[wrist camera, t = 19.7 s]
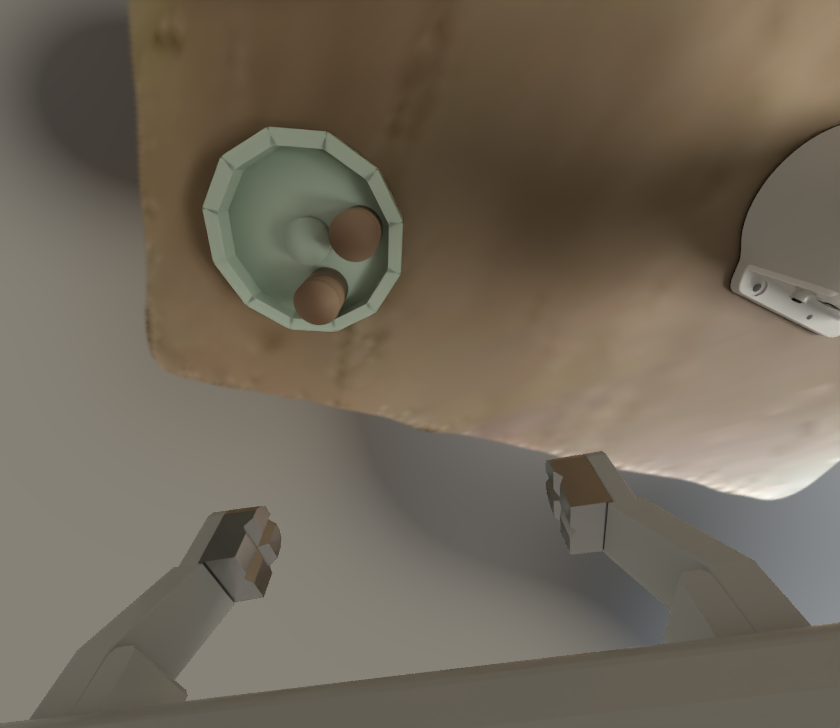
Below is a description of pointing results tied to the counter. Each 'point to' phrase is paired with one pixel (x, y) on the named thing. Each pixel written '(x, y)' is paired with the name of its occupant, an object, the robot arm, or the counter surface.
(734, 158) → the counter surface
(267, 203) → the tray
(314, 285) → the brown short cylinder
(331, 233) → the bead
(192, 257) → the counter surface
